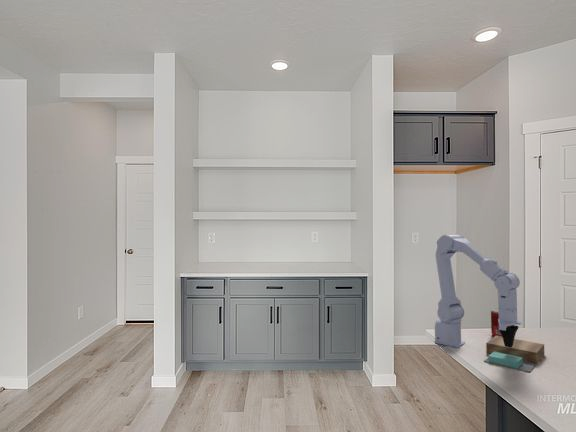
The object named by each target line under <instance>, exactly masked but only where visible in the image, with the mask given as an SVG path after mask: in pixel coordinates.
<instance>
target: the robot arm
mask: <svg viewBox="0 0 576 432" xmlns="http://www.w3.org/2000/svg"><path fill="white" fill-rule="evenodd" d="M457 252H459V253H463V254H465V256H467V257H468V258H469V259H471V260H472V261H474V262H475V263H476V264H477V265H479V270H480V271H481V273H483V274H484V275H486V276H487V277H488V278H489V279H490V281H493V283H494V287H495V289H497V297H498V305H497V306H498V309H499V319H498V322H499V326H498V329H499V331H500V332H501V335H502V337H503V341H504V345H505V346H506V347H512V346H513V342H514V339H515V338H516V337H515V336H516V334H517V331H518V330H519V326H520V325H522V321H519V320H518V293H517V289H518V288H519V286H520V279H519V277H518V276H517V275H516V274H515V273H513V272H509V271H508V269H505V268H503V267H502V266H501V265H500V264H498V261H497V260H496V259H492V258H486V257H485V256H484V255H483V254H482V253H481V252H479V250H477V248H476V247H475V246H474V245H472V244H471V243H470V242H469V239H467V238H465V237H464V235H461V234H443V235H441V236H440V237H439V238H438V239H437V241H436V251H435V260H436V261H435V262H436V267H437V274H438V281H439V288H440V294H441V298H440V300H439V301H438V304H437V305H438V306H437V307H438V308H437V317H438V319H437V320H436V321H435V324H434V342H433V343H435V344H439V345H444V346H448V347H452V348H460V347H461V346H463V345H464V344H466V342H465V341H463V340H462V326H461V325H462V323H461V322H462V319H463V317H464V316H465V309H464V307H463V306H462V303H461V300H460V299H459V298H458V297H457V294H456V288H455V280H454V275H453V268H452V262H451V261H452V260H451V258H452V257H453V256H454V255H455V254H456V253H457ZM518 325H519V326H518Z"/></svg>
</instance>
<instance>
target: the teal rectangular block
mask: <svg viewBox="0 0 576 432" xmlns="http://www.w3.org/2000/svg"><path fill="white" fill-rule="evenodd" d="M487 356H488V357H487V358H488V359H489V362H492V363H497V364H501V365H505V366H510V367H514V368H519V367H520V366H521V365H522V364H523V358H522V357H517V356H513V355H508V354H503V353H499V352H493V353H491V354H488V355H487Z"/></svg>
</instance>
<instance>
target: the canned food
mask: <svg viewBox="0 0 576 432" xmlns="http://www.w3.org/2000/svg"><path fill="white" fill-rule="evenodd" d="M498 319H499V308H492V309H491V310H490V327H491V329H490V331H491V335H492V336H493V338H494V337H495V336H501V337H502V335H501V332H500V331H499V329H498V326H499V322H498Z"/></svg>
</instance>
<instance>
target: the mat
mask: <svg viewBox="0 0 576 432" xmlns="http://www.w3.org/2000/svg"><path fill="white" fill-rule="evenodd" d="M483 362H484V363H487V364H492V365H496V366H500V367H505V368H507V369H512V370H517V371H521V372H525V373H526V372H527V373H529V374H530V373H532V372H533V370H534V369H535V368H536V366H537V365H538V364H534V363H529V362H525V361H523V364H522V365H521V366H520V367H519V368H514V367H510V366H505V365H501V364H497V363H492V362H489V359H488V357H487V358H486V359H484V360H483Z"/></svg>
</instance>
